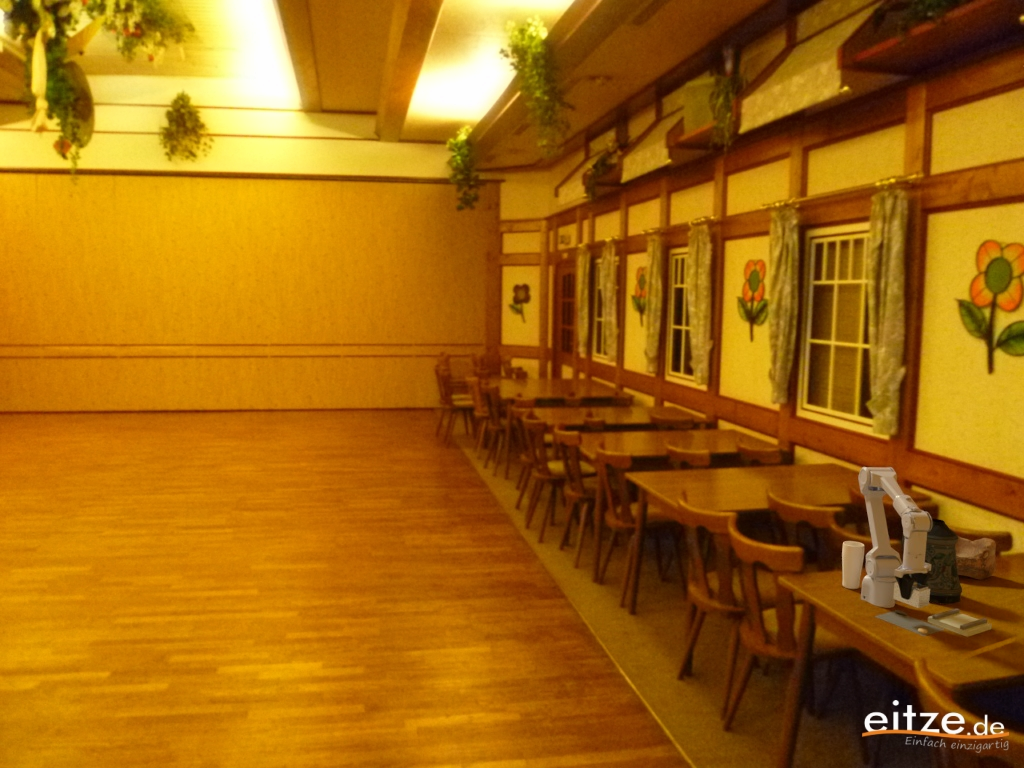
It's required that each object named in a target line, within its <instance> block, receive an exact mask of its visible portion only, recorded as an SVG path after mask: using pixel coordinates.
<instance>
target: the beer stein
mask: <svg viewBox="0 0 1024 768" xmlns="http://www.w3.org/2000/svg"><path fill="white" fill-rule="evenodd" d="M931 518H932V517H931ZM951 529H952V528H950V527H949V526H948V525H947V524H946V522H945V521H944V520H943V519H938V518H932V529H931V530H930V531H929V532H927V540H926V552H925V562H926V563H929V564H931V571H927V572H928V573H930V574H931V577H930V578H929V579H928V581H927V582H926V584H925V586H927V587H928V588H930V597H929V601H930V602H929V603H932V602H933V604H940V603H941V605H942V604H943V605H950V604H951V605H952V604H956V603H960V602H961V596H962V593H963V587H962V585H961V583H960V578H959V575H958V571H957V561H956V548H955V546H956V543H957V541H958V536H959V535H957V533H956V532H955V531H954V530H953V529H952V530H953V531H952V530H951ZM904 541H905V536H904V535H903V534H902V545H903V547H904ZM909 576H911V574H910V575H909ZM911 578H912V577H911Z"/></svg>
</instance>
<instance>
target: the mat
mask: <svg viewBox="0 0 1024 768" xmlns="http://www.w3.org/2000/svg"><path fill="white" fill-rule="evenodd" d="M874 618H877V619H880V620H881V621H885V622H887V623H890V624H893V625H894V626H897V627H899V628H902V629H905V630H907V631H910V632H912V633H913V634H914V633H915V634H916V635H920V636H922V637H927V636H930V635H933V634H936V633H939V632H942V631H945V628H942V627H940V626H937V625H935V624H932V623H929V622H926V621H923V620H921V619H918V618H916V617H913V616H910V615H908V613H907V612H905V611H902V610H900V609H895V610H893V611H889V612H886V613H882V614H878V615H875V616H874Z"/></svg>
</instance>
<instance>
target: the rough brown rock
mask: <svg viewBox="0 0 1024 768" xmlns="http://www.w3.org/2000/svg"><path fill="white" fill-rule="evenodd" d="M950 529H951V530H952V531H954V530H953V529H952V528H950ZM957 536H958V541H957V543H956V546H955V548H956V561H957V571H958V576H964V577H969V578H971V579H975V580H981V581H982V580H985V579H987V578H989V577H991V576H992V575H993V574H994V573H995V572H996V568H997V567H996V565H997V564H996V559H997V557H996V548H997V542H996V540H994V539H992V538H988V537H982V538H979V539H975V540H971V539H968V538H964V537H961V536H959V535H957Z"/></svg>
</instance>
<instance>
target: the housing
mask: <svg viewBox="0 0 1024 768" xmlns="http://www.w3.org/2000/svg"><path fill="white" fill-rule="evenodd" d="M929 597H930V588H928V587H927V586H924V585H921V584H918V583H917V581H914V583H913V586H912V589H911V594H910V598H909V600H906V599H904V598H901V593H900V588H899V585H898V582H897V581H896V582H895V584H894V597H893V599H895V601H898V602H901V603H903V604H907V605H908V606H912V607H914V608H917V609H920V608H924V607H928V606H929V605H930V602H929Z"/></svg>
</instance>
